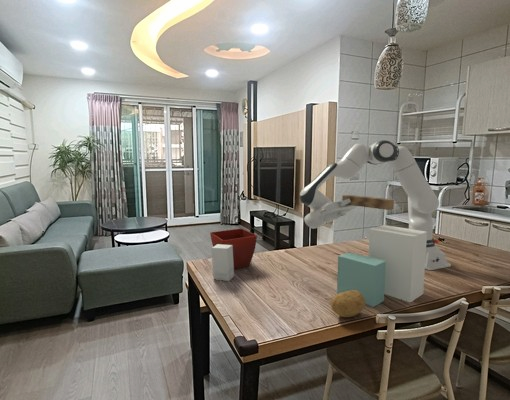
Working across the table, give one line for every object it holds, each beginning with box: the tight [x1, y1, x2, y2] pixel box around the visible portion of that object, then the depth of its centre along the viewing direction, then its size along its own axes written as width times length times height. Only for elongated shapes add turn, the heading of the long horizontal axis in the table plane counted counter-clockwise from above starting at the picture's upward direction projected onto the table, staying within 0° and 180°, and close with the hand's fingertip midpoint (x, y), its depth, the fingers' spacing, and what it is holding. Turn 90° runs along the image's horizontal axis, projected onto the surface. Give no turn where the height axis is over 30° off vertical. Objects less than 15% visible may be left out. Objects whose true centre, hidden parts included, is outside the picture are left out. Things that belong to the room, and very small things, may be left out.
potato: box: [330, 290, 366, 318], centre depth 112 cm, size 10×14×8 cm
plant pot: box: [210, 228, 258, 270], centre depth 166 cm, size 19×19×17 cm
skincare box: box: [211, 244, 235, 282], centre depth 147 cm, size 8×7×16 cm
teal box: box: [336, 252, 386, 308], centre depth 126 cm, size 8×16×16 cm, turn 41°
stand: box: [368, 224, 427, 303], centre depth 131 cm, size 12×18×26 cm, turn 41°
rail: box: [341, 194, 395, 211], centre depth 138 cm, size 22×4×4 cm, turn 41°
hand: (354, 199), depth 143 cm, fingers closed on rail, 4 cm apart
